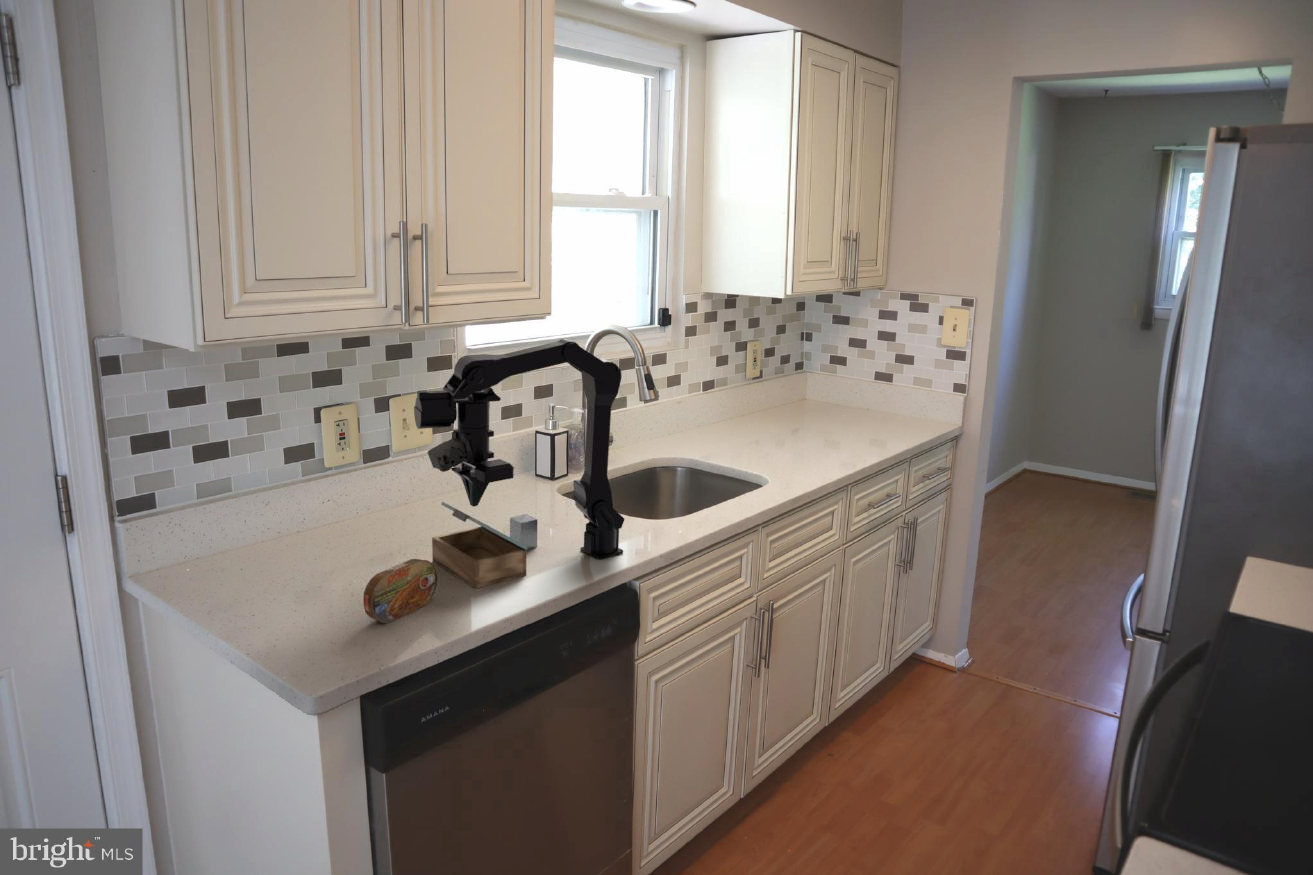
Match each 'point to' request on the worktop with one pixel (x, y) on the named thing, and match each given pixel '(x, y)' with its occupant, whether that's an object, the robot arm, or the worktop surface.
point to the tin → (400, 590)
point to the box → (479, 556)
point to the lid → (464, 517)
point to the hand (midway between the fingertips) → (474, 505)
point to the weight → (524, 530)
